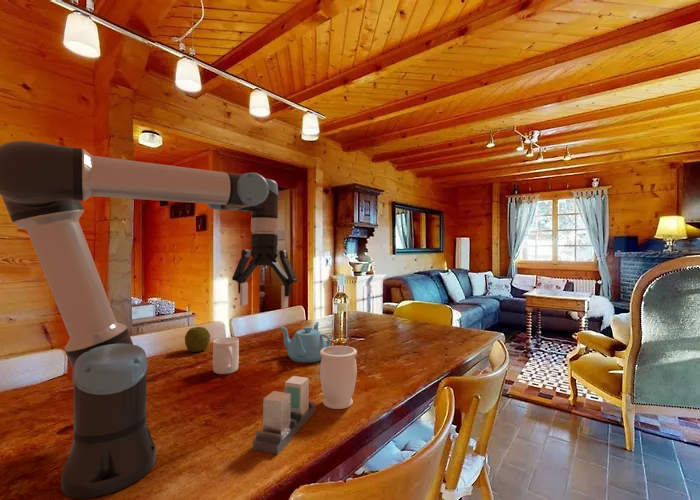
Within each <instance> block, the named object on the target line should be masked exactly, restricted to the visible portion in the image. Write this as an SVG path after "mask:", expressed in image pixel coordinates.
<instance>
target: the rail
mask: <svg viewBox="0 0 700 500" xmlns="http://www.w3.org/2000/svg"><path fill="white" fill-rule="evenodd" d="M262 406H263V407H262V412H263V413H262V421H263V422H262V430H258V429H257V431H255V432H256V433H255V438H254V439H253V440H252V450H254V451H258V452H262V451H263V453H267V452H268V453H267V454H271V453H272V454H271V455H277V456H278V455H279V454H280V453H281V452H282V450H284V448H285V447H286V446H287V445H288V444H289V442H290V441H291V440H292V439H293V438H294V437H295V436H296V434H297V433H299V431H300V430H301V429H302V428H303V426H304V425H305V424H306V423H307V422H308V421H309V420H310V418H312V417H313V415H314V414H315V413H316V404H314V401H310V400H309V409H308V410H307V411H306V412H305V413H304V414H303V415H302V414H300V413H295V412H291V394H290V393H285V391H284V392H283V391H276V390H273V391H271V392H270V393H269V394H268V395H266V396H265V397H264V398H263V403H262ZM279 452H280V453H279Z"/></svg>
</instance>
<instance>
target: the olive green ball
mask: <svg viewBox="0 0 700 500" xmlns="http://www.w3.org/2000/svg"><path fill="white" fill-rule="evenodd" d="M210 341H211V334H210V332H209V330H208V329H207V328H206V327H203V326H198V325H196V326H195V327H192V328H190V329H189V330H188V331H187V332H186V333H185V336H184V344H185V346H186V349H187V350H188V351H189V352H192V353H199V352H202V351H204V350H206V349H207V348H208V346H209V344H210Z"/></svg>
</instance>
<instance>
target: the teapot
mask: <svg viewBox="0 0 700 500" xmlns="http://www.w3.org/2000/svg"><path fill="white" fill-rule="evenodd" d="M319 323H320V322H319V321H316V322H315V323H314V325H313V327H312V326H309V325H306V326H304V327H303V329H300V330H297V331H296V332H295V333H294V334H293V336H292V338H290V336H289V332H288V328H286V327H284V326H282V325H279V328H280V329H281V330H282V332H283V345H284V347H285V348H286V349H287V355H288V357H289V358H290V359H291V360H292V361H293V362H295V363H300V364H312V363H318V362H319V361H320V362H321V359H322V356H321V355H320V351H321V349H323V348H325V347H329V346H331V337H330V335H328V334H327V333H321V331H319ZM312 328H313V329H312ZM325 338H326V339H327V340H325ZM326 341H327V342H326Z"/></svg>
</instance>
